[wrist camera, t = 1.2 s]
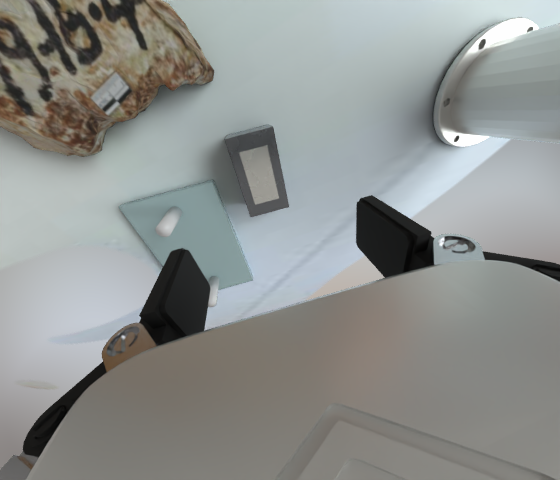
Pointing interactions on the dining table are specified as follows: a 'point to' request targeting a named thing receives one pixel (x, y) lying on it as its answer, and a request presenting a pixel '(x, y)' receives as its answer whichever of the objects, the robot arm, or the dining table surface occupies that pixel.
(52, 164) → the dining table surface
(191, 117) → the dining table surface
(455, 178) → the dining table surface
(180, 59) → the stone
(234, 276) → the grey-green peg board
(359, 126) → the dining table surface
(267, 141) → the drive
